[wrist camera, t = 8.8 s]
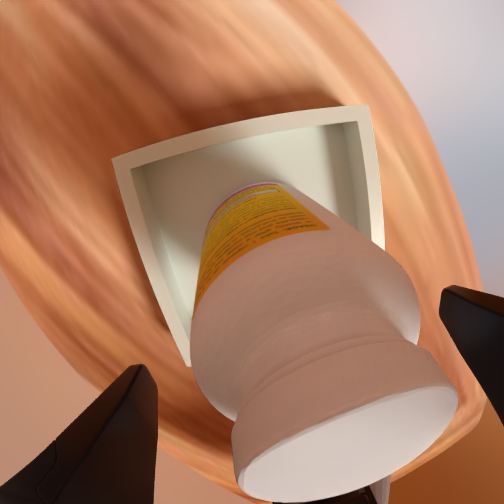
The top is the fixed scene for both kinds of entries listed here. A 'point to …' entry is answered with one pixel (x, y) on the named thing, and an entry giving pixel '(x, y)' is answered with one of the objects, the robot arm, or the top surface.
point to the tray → (235, 177)
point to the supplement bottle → (311, 349)
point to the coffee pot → (381, 490)
